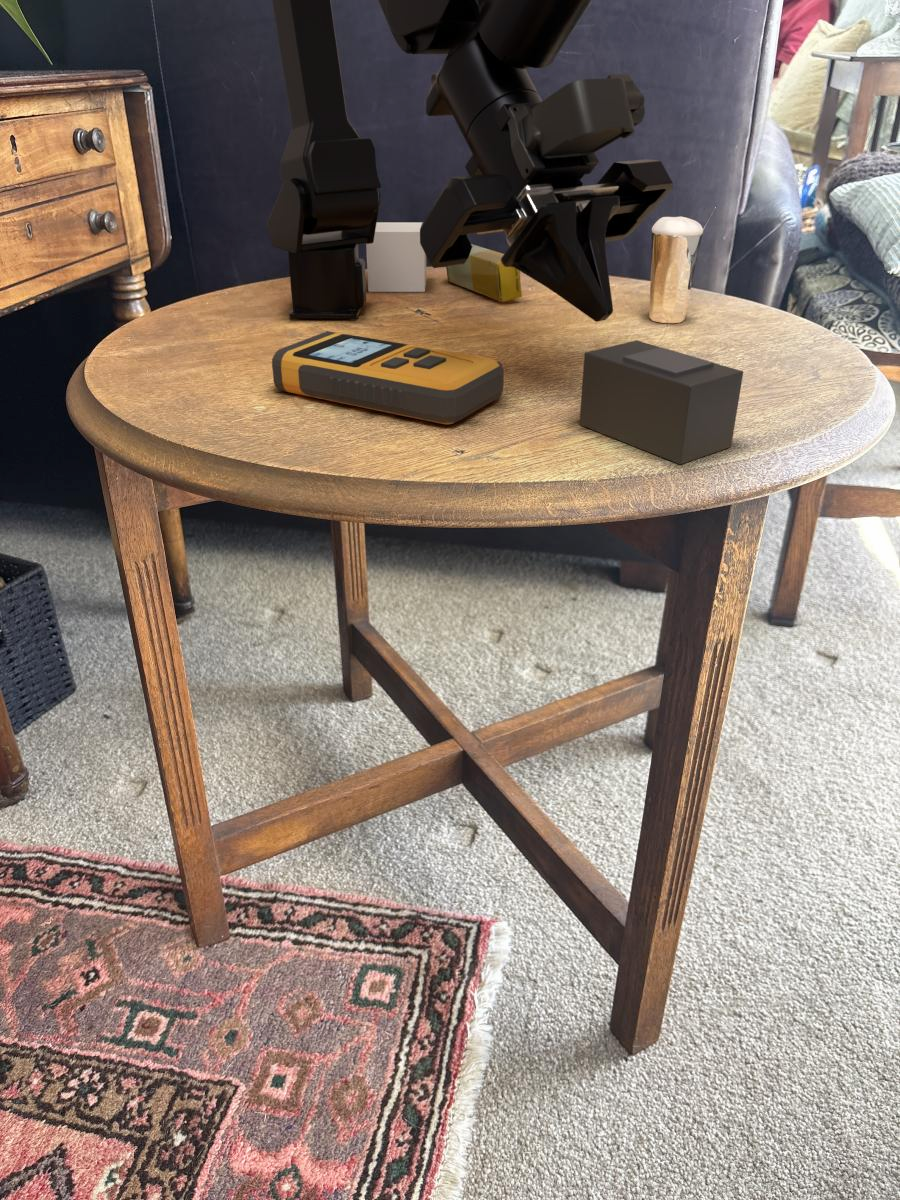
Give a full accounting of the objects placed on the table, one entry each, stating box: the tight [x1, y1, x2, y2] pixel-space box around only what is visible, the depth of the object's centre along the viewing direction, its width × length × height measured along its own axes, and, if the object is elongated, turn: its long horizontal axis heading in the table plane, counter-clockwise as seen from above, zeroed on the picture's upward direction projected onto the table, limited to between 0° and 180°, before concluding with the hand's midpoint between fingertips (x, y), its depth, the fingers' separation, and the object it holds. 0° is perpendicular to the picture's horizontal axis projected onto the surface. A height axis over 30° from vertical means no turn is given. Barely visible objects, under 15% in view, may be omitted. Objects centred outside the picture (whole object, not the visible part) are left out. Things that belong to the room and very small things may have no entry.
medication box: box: [445, 243, 523, 303], centre depth 98 cm, size 12×3×4 cm, turn 27°
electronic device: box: [271, 330, 505, 425], centre depth 69 cm, size 8×16×3 cm, turn 59°
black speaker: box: [578, 339, 744, 465], centre depth 61 cm, size 5×5×9 cm
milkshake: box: [648, 206, 717, 324], centre depth 86 cm, size 5×5×10 cm
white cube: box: [365, 221, 427, 293], centre depth 100 cm, size 6×6×6 cm
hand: (605, 317), depth 63 cm, fingers closed
